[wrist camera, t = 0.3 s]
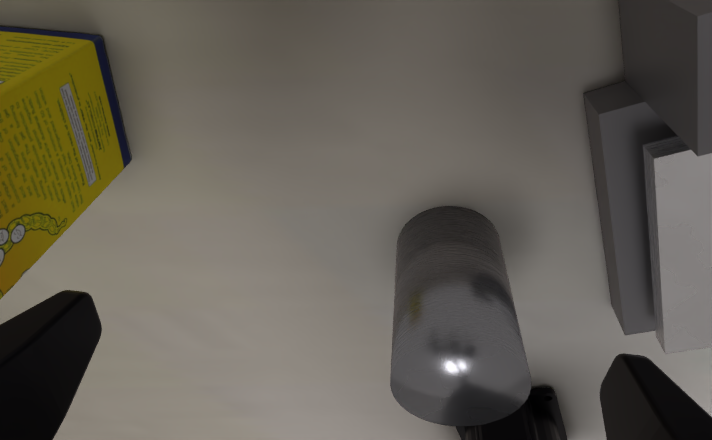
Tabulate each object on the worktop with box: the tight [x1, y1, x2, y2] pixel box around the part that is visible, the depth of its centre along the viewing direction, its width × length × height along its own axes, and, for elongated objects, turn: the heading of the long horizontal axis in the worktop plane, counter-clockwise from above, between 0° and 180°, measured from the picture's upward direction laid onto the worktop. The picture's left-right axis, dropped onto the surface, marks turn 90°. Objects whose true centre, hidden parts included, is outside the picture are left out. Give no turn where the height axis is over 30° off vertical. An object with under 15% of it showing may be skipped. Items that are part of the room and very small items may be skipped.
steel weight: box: [390, 206, 531, 426], centre depth 21 cm, size 5×5×8 cm
